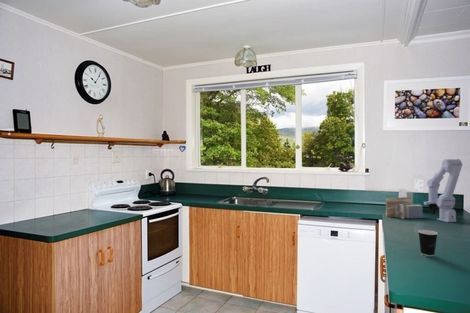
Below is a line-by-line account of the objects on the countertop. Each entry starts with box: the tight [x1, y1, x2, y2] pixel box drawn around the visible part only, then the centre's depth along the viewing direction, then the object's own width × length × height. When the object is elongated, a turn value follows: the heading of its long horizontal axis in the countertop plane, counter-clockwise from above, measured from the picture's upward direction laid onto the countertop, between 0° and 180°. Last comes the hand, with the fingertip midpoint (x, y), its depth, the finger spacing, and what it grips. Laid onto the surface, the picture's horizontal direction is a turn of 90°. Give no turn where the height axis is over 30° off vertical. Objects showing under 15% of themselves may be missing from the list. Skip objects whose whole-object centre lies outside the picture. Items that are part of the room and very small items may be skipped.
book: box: [404, 204, 423, 219], centre depth 229 cm, size 4×12×9 cm, turn 101°
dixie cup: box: [417, 229, 439, 256], centre depth 143 cm, size 8×8×11 cm
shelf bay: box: [385, 197, 411, 220], centre depth 229 cm, size 9×20×14 cm, turn 101°
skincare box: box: [398, 188, 414, 205], centre depth 264 cm, size 21×6×16 cm, turn 168°
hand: (432, 213), depth 233 cm, fingers closed
